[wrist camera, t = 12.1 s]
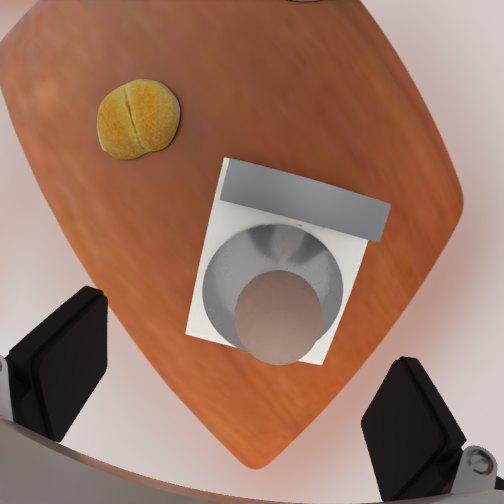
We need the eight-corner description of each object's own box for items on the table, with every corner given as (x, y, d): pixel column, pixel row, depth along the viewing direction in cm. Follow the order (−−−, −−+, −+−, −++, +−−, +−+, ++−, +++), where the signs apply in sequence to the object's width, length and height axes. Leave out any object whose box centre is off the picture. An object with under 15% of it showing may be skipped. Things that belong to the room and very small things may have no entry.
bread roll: (190, 141, 31) (180, 138, 27) (113, 167, 32) (96, 167, 28) (173, 70, 29) (162, 59, 25) (99, 99, 30) (82, 92, 26)
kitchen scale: (230, 159, 31) (215, 154, 21) (363, 196, 32) (402, 208, 22) (195, 312, 35) (173, 361, 26) (315, 341, 36) (329, 395, 26)
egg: (265, 243, 27) (266, 279, 18) (328, 283, 28) (354, 333, 19) (224, 304, 29) (208, 360, 20) (285, 339, 29) (292, 402, 21)
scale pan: (220, 207, 27) (219, 208, 27) (359, 244, 28) (361, 246, 27) (192, 334, 31) (191, 338, 30) (315, 362, 31) (317, 366, 30)
